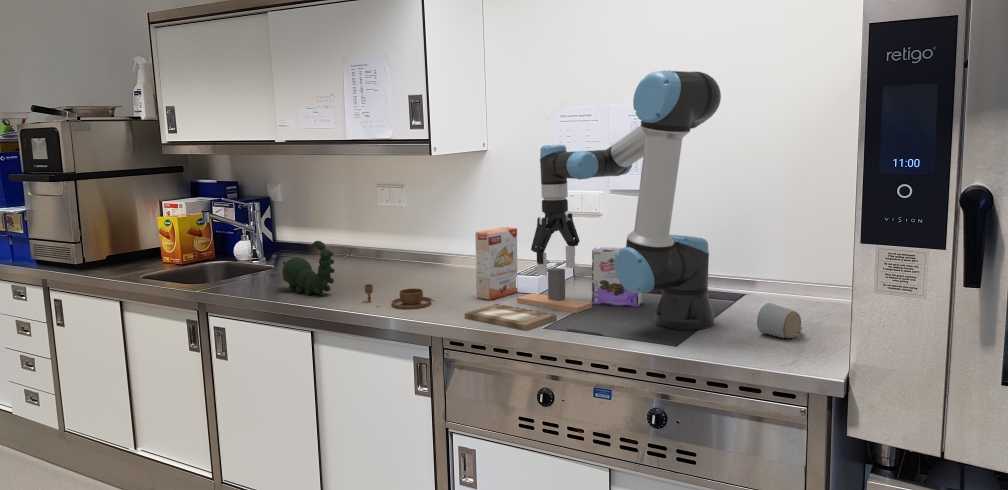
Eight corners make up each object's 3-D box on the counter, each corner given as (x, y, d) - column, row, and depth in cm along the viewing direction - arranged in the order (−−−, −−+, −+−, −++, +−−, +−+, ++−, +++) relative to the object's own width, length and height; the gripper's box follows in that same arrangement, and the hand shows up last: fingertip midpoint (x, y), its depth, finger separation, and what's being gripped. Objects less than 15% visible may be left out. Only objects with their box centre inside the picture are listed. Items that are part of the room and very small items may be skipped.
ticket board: (556, 320, 206) (556, 314, 206) (526, 330, 197) (526, 324, 196) (495, 308, 221) (495, 303, 220) (464, 318, 211) (464, 312, 211)
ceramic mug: (785, 342, 181) (786, 311, 179) (755, 335, 187) (756, 305, 186) (810, 335, 187) (811, 304, 186) (780, 328, 193) (782, 299, 192)
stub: (592, 307, 219) (591, 272, 217) (577, 313, 214) (576, 276, 212) (532, 297, 233) (531, 264, 232) (517, 302, 228) (516, 268, 226)
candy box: (591, 304, 223) (591, 249, 221) (596, 300, 229) (596, 246, 226) (638, 307, 218) (638, 251, 216) (642, 302, 224) (642, 247, 221)
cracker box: (490, 301, 231) (488, 232, 227) (475, 298, 234) (473, 231, 231) (519, 292, 241) (517, 227, 238) (504, 290, 245) (502, 226, 242)
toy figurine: (341, 298, 246) (295, 283, 262) (341, 241, 242) (294, 229, 258) (317, 304, 239) (271, 288, 255) (317, 245, 235) (270, 232, 251)
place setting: (397, 315, 219) (396, 295, 218) (361, 304, 234) (360, 285, 233) (446, 304, 230) (445, 285, 229) (409, 294, 245) (408, 276, 244)
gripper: (569, 195, 231) (571, 264, 234) (516, 202, 213) (519, 276, 215) (589, 195, 226) (591, 265, 229) (537, 202, 208) (540, 279, 211)
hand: (556, 271), depth 222 cm, fingers open, 13 cm apart
